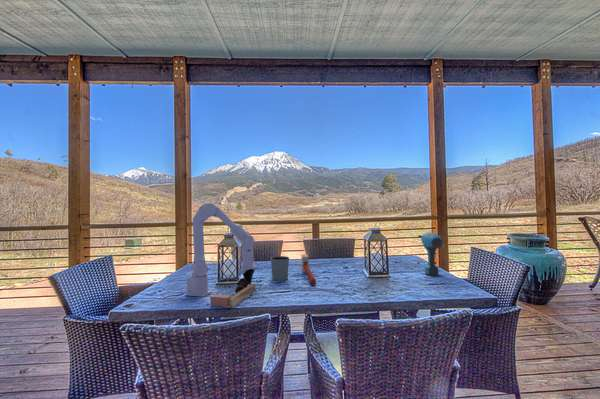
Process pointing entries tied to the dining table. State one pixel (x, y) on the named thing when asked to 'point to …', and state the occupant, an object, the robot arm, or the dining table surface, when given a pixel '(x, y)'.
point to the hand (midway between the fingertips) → (248, 284)
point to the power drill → (431, 251)
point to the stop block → (220, 300)
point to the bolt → (241, 285)
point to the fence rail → (241, 295)
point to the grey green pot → (280, 268)
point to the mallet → (307, 269)
